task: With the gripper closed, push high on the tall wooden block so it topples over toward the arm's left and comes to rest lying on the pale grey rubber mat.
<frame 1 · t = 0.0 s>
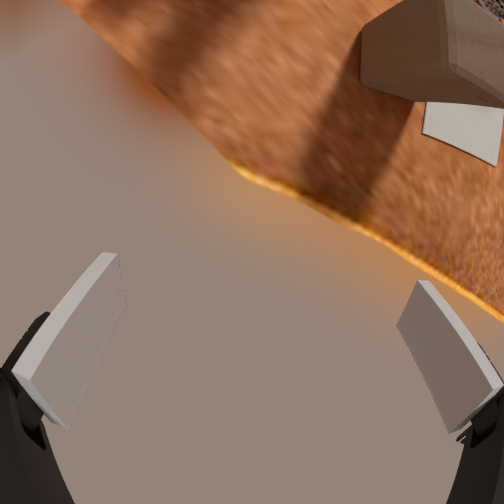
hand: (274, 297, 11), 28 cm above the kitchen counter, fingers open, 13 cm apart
mat: (470, 102, 29), on the kitchen counter
decorative candle: (488, 2, 17), on the kitchen counter
wooden block: (389, 63, 28), on the kitchen counter
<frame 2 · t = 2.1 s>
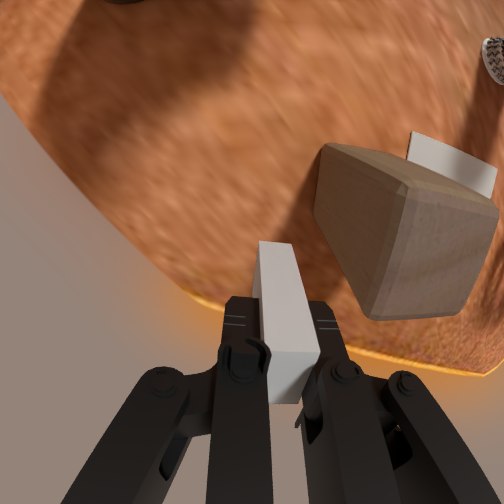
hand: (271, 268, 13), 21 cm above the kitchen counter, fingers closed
mat: (447, 206, 33), on the kitchen counter
decorative candle: (495, 61, 21), on the kitchen counter
wooden block: (352, 184, 33), on the kitchen counter
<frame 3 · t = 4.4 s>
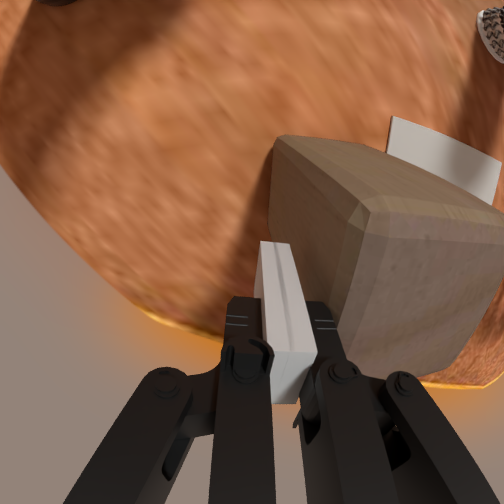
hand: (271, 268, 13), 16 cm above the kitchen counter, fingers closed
mat: (441, 208, 28), on the kitchen counter
decorative candle: (494, 37, 15), on the kitchen counter
wooden block: (317, 185, 27), on the kitchen counter, touching gripper
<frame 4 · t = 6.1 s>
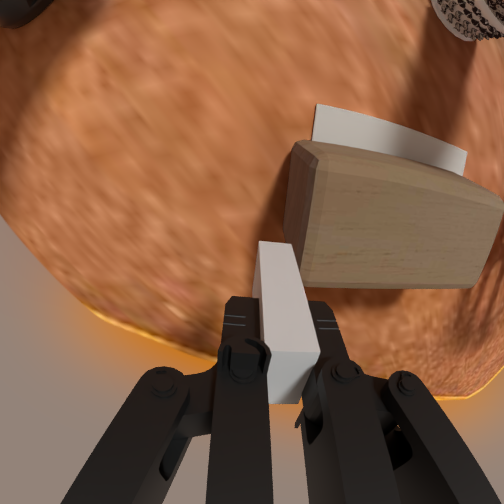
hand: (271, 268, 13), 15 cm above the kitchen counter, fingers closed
mat: (388, 205, 28), on the kitchen counter
decorative candle: (455, 13, 15), on the kitchen counter
wooden block: (290, 204, 22), point 5 cm above the kitchen counter, touching mat
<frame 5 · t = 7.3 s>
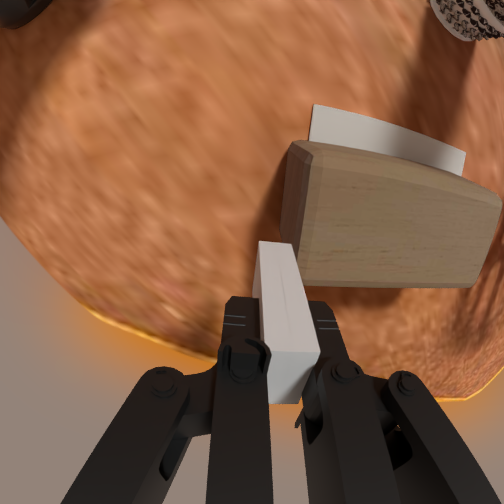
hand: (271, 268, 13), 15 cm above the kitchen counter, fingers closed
mat: (386, 206, 28), on the kitchen counter
decorative candle: (454, 13, 15), on the kitchen counter
wooden block: (286, 202, 22), point 5 cm above the kitchen counter, touching mat
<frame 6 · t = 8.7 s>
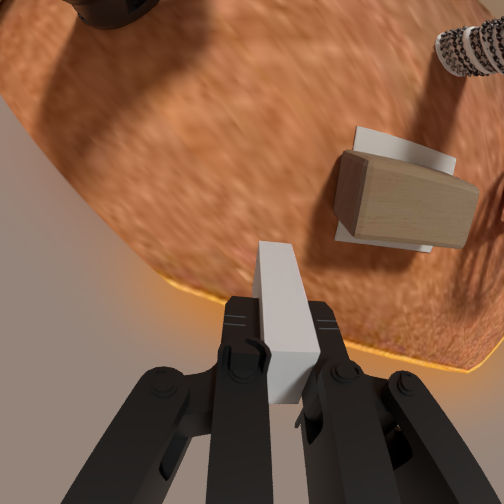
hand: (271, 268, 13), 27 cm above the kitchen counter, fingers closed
mat: (401, 195, 39), on the kitchen counter
decorative candle: (452, 54, 27), on the kitchen counter
wooden block: (345, 189, 33), point 5 cm above the kitchen counter, touching mat
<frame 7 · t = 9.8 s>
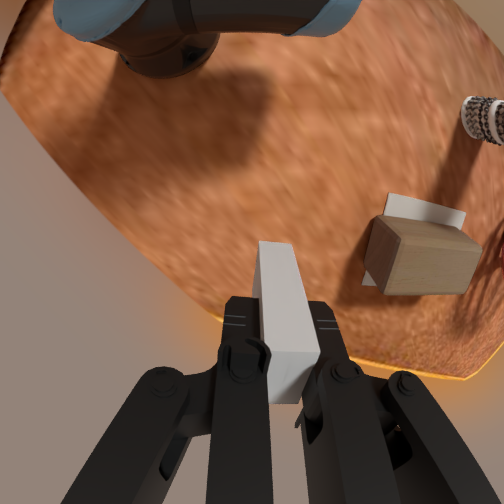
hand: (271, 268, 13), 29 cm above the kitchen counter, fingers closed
mat: (418, 247, 45), on the kitchen counter
decorative candle: (474, 117, 33), on the kitchen counter
wooden block: (377, 252, 40), point 5 cm above the kitchen counter, touching mat
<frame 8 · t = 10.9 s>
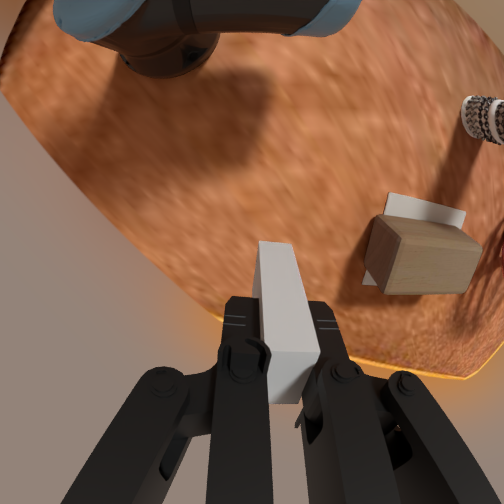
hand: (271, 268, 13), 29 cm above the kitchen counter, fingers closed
mat: (418, 246, 45), on the kitchen counter
decorative candle: (474, 117, 33), on the kitchen counter
wooden block: (377, 252, 40), point 5 cm above the kitchen counter, touching mat
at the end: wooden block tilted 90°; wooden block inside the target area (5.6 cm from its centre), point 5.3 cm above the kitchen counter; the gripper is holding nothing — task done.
